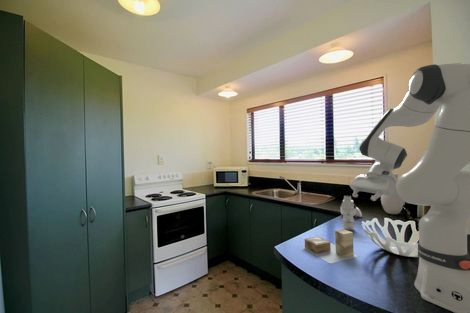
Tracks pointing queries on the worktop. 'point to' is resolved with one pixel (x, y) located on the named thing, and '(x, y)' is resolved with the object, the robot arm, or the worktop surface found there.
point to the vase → (392, 202)
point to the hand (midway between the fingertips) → (363, 198)
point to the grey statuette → (348, 213)
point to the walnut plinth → (317, 245)
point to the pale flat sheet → (331, 255)
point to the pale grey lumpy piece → (355, 211)
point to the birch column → (344, 243)
